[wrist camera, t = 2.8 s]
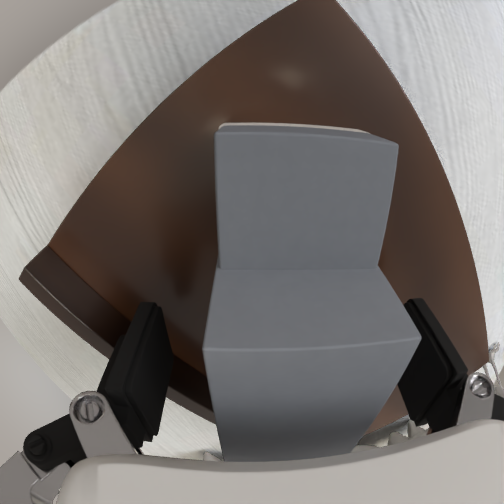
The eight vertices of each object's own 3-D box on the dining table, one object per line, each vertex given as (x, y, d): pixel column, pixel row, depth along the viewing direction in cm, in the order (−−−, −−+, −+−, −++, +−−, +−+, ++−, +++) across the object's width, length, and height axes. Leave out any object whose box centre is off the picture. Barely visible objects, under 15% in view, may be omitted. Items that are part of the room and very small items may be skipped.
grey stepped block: (318, 370, 15) (336, 470, 9) (232, 372, 15) (227, 476, 9) (359, 129, 9) (476, 176, 4) (222, 122, 9) (180, 155, 4)
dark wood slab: (296, 25, 12) (339, -36, 5) (458, 315, 21) (499, 378, 14) (92, 209, 16) (18, 279, 9) (317, 399, 26) (329, 469, 19)
